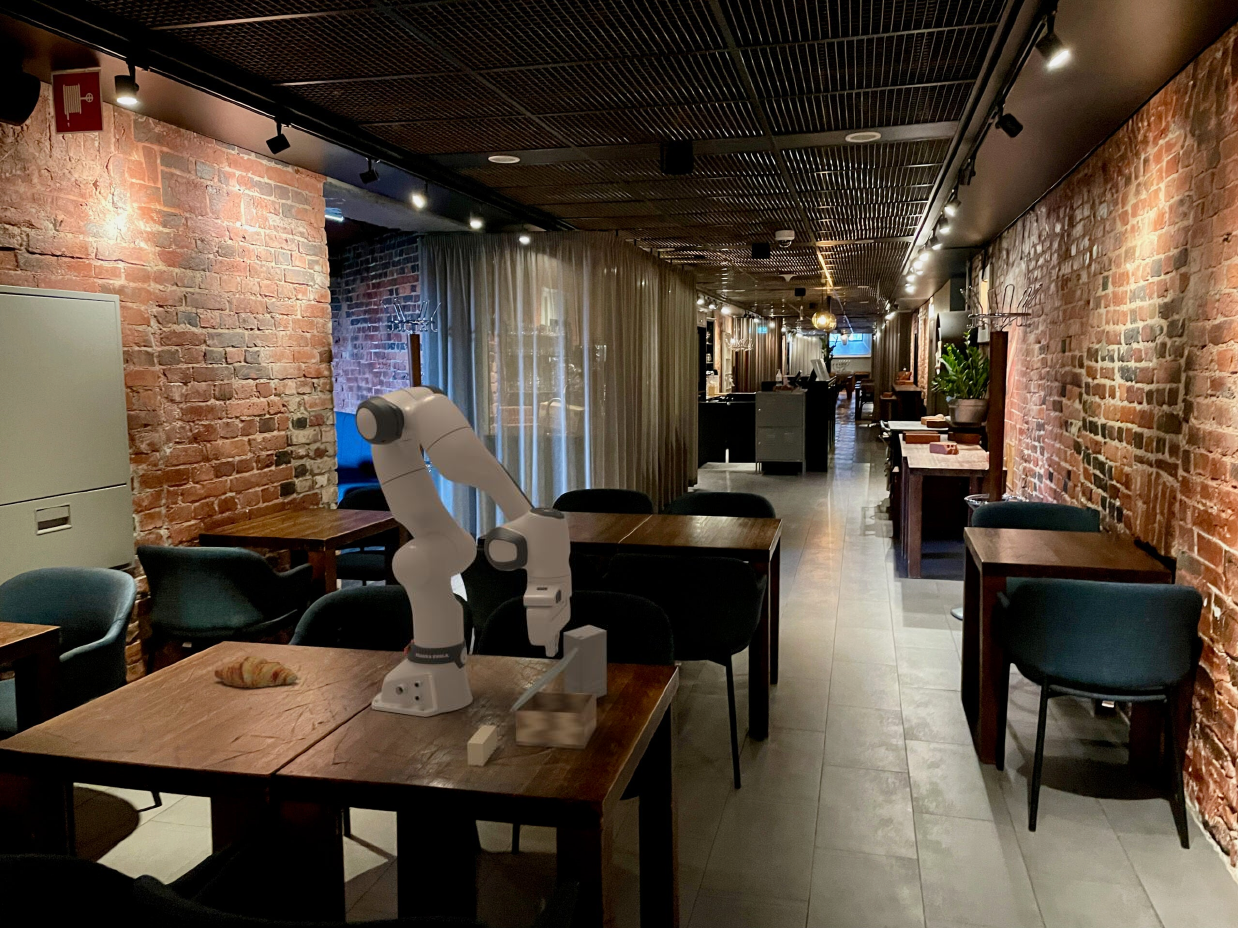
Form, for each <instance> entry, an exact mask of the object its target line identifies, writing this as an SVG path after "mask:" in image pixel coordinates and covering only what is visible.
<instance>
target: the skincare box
mask: <svg viewBox="0 0 1238 928" xmlns="http://www.w3.org/2000/svg"><path fill="white" fill-rule="evenodd" d="M607 634H608V633H607V630H605V629H602V628H600V627H596V626H594V625H591V624H587V625H584V626H581V627H577V628H575V629H571V630H568V631H565V632H563V658H564V657H565V656H566V655H567V654H568V653H569V652H570V651H572V650H573V649H574V648H575V647H577V649H578V651H577V652H576V654H575V655H574V656H573V658H572V659H571V660H570V662H569V663H568V664H567V666H566V667H565V668H564V669H563V692H566V693H587V694H596V699H598V698H601V697H603V696H606V695H607V693H608V692H607V691H608V690H607V687H608V686H607V685H608V684H607V683H608V680H607V678H608V677H607V675H608V673H607V665H608V664H607V657H608V656H607V655H608V654H607V653H608V652H607Z"/></svg>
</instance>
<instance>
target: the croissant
mask: <svg viewBox="0 0 1238 928" xmlns="http://www.w3.org/2000/svg"><path fill="white" fill-rule="evenodd" d="M214 677H215V678H216V679H218V680H220V681H222V682H223V684H226V685H227V686H229V685H232V686H231V687H237V688H241V687H245V688H246V687H249V688H248V689H257V688H256V687H260V688H265V687H274V686H280V685H289V684H293V683H295V682H297V680H298V675H297V674H296V673H295V672H294V671H293V670H292V669H291V668H288V667H287V668H286V667H285V666H284V665H283V664H282V663H280V662H279V661H268V659H266V658H264V657H259V656H251V655H248V656H246V657H245V658H244V659H243V660H242V661H237V662H235V663H234V664H233V665H231V666H224V667H222V668H221V669H215V670H214Z"/></svg>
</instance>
